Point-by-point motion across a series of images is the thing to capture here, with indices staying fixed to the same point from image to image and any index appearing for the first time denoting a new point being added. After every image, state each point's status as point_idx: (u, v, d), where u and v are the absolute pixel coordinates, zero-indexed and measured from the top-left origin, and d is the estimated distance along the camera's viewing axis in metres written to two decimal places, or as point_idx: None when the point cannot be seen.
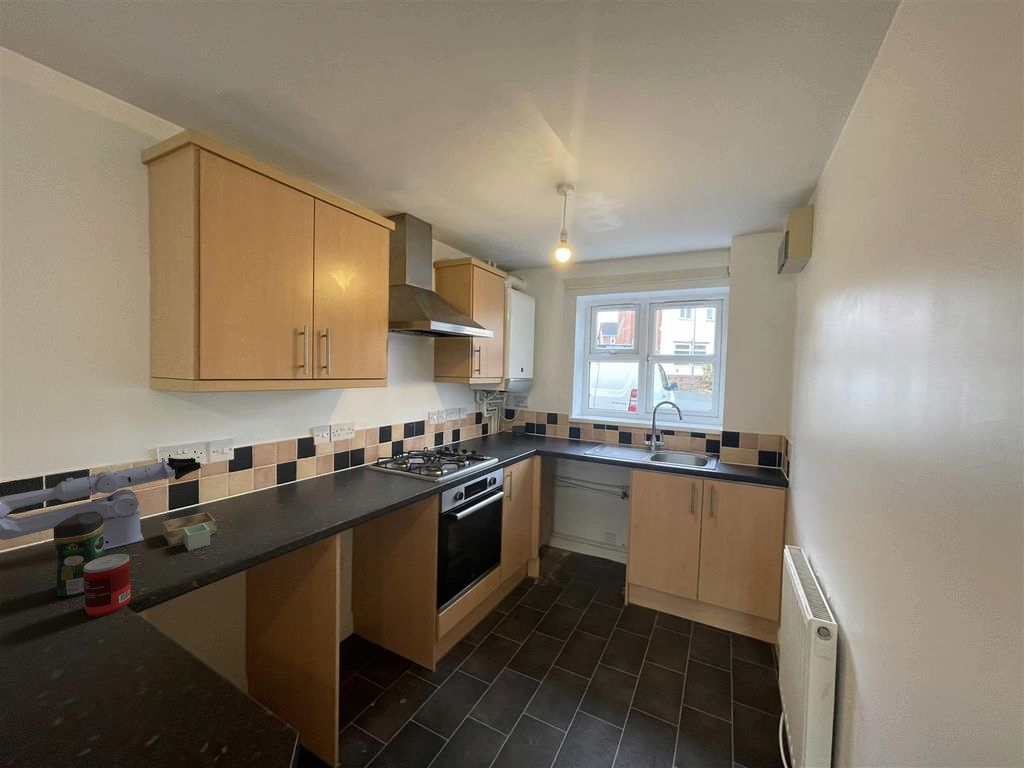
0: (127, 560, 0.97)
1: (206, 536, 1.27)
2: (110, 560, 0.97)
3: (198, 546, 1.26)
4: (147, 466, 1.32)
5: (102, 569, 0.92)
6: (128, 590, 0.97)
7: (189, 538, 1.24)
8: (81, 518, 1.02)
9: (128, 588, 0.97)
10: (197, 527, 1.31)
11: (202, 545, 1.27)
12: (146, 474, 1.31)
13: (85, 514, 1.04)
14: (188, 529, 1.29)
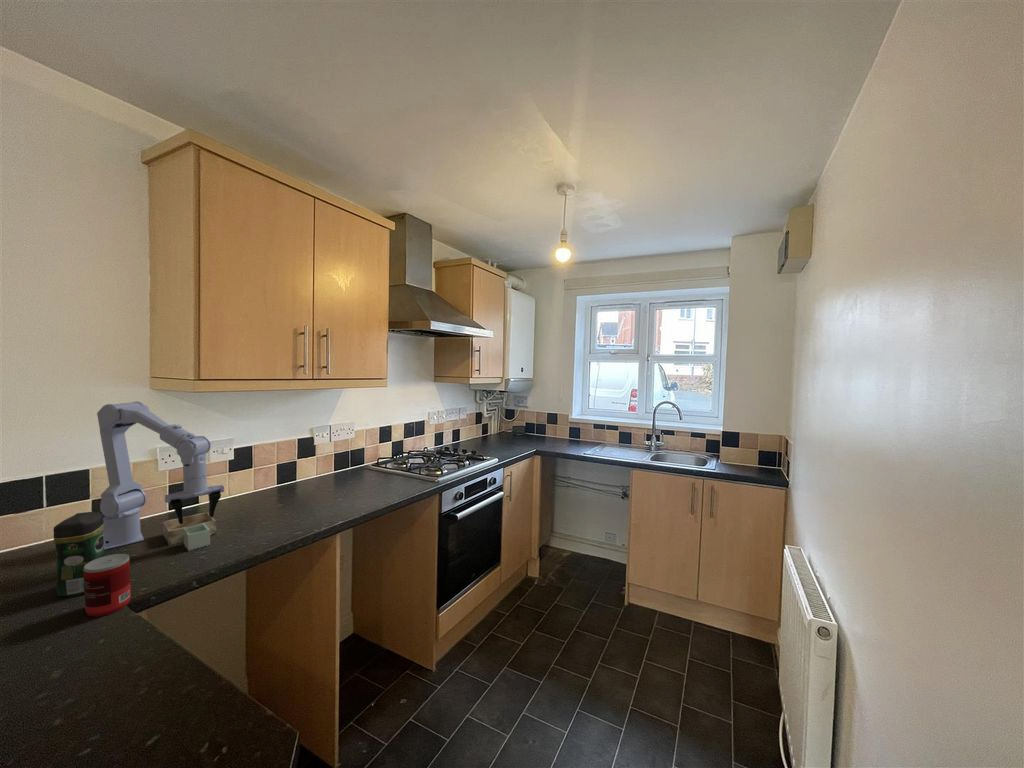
0: (127, 560, 0.97)
1: (206, 536, 1.27)
2: (110, 560, 0.97)
3: (198, 546, 1.26)
4: (192, 480, 1.25)
5: (102, 569, 0.92)
6: (128, 590, 0.97)
7: (189, 538, 1.24)
8: (81, 518, 1.02)
9: (128, 588, 0.97)
10: (197, 527, 1.31)
11: (202, 545, 1.27)
12: (183, 478, 1.25)
13: (85, 514, 1.04)
14: (188, 529, 1.29)
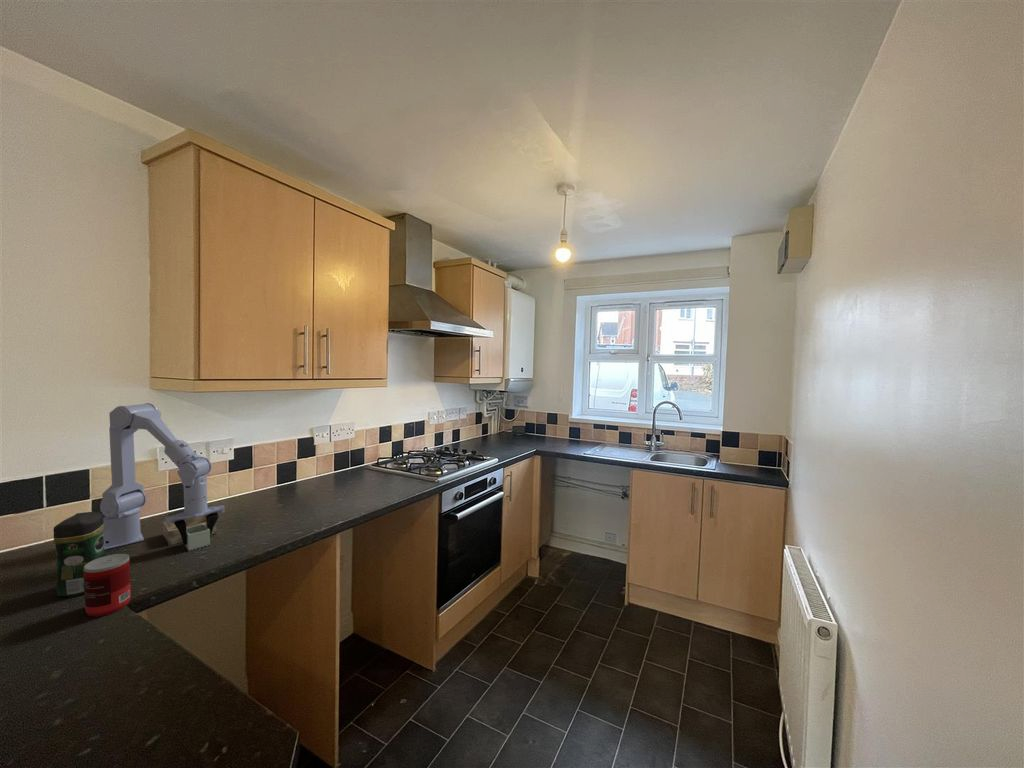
0: (127, 560, 0.97)
1: (206, 536, 1.27)
2: (110, 560, 0.97)
3: (198, 546, 1.26)
4: (193, 502, 1.25)
5: (102, 569, 0.92)
6: (128, 590, 0.97)
7: (189, 538, 1.24)
8: (81, 518, 1.02)
9: (128, 588, 0.97)
10: (197, 527, 1.31)
11: (202, 545, 1.27)
12: (184, 499, 1.25)
13: (85, 514, 1.04)
14: (188, 529, 1.29)
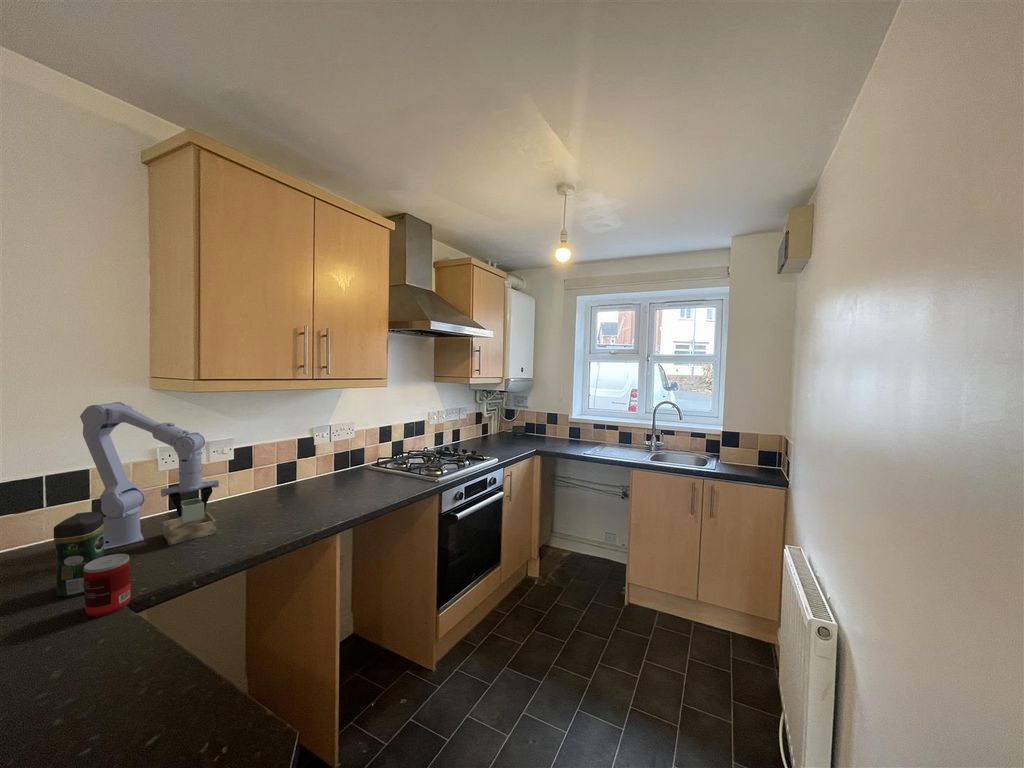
0: (127, 560, 0.97)
1: (200, 509, 1.31)
2: (110, 560, 0.97)
3: (192, 518, 1.30)
4: (187, 475, 1.29)
5: (102, 569, 0.92)
6: (128, 590, 0.97)
7: (184, 510, 1.28)
8: (81, 518, 1.02)
9: (128, 588, 0.97)
10: (192, 501, 1.35)
11: (196, 518, 1.31)
12: (179, 473, 1.29)
13: (85, 514, 1.04)
14: (183, 502, 1.33)
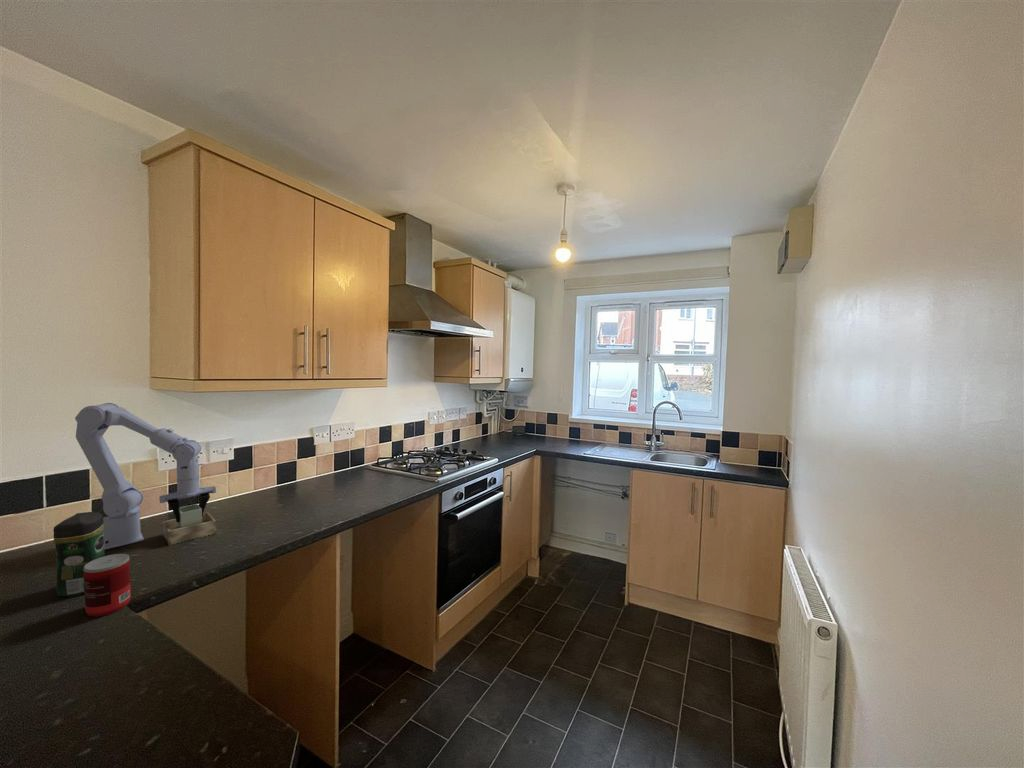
0: (127, 560, 0.97)
1: (198, 515, 1.34)
2: (110, 560, 0.97)
3: (190, 524, 1.33)
4: (185, 482, 1.32)
5: (102, 569, 0.92)
6: (128, 590, 0.97)
7: (182, 516, 1.31)
8: (81, 518, 1.02)
9: (128, 588, 0.97)
10: (190, 507, 1.38)
11: (194, 523, 1.34)
12: (177, 479, 1.32)
13: (85, 514, 1.04)
14: (181, 508, 1.36)
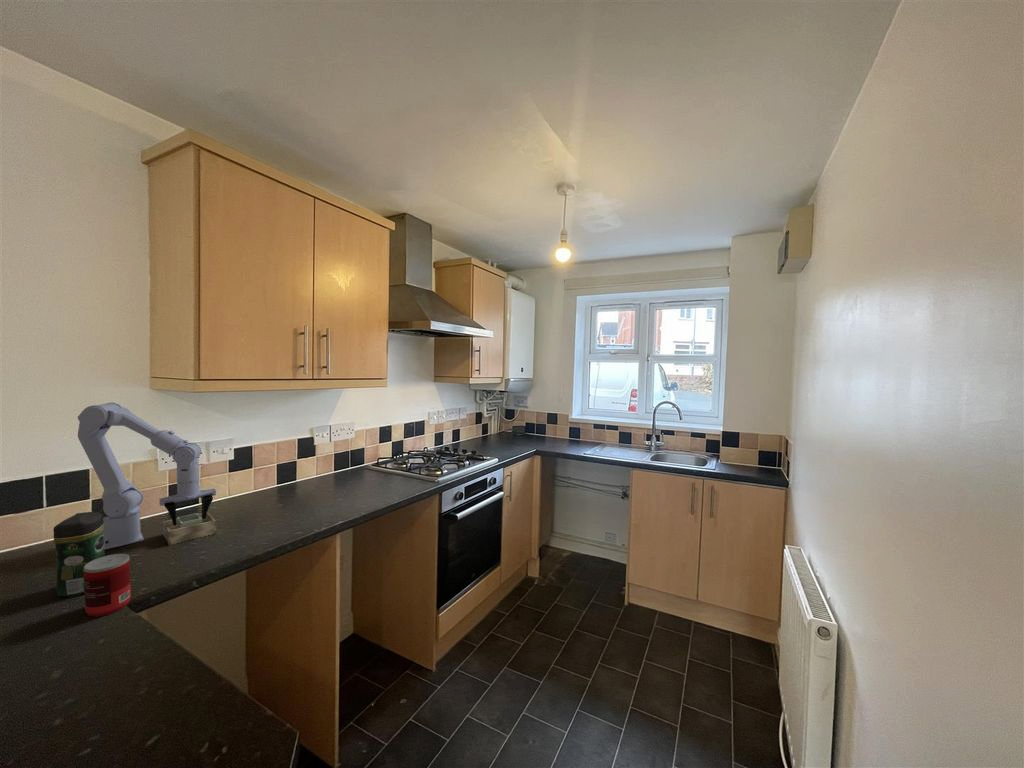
0: (127, 560, 0.97)
1: None
2: (110, 560, 0.97)
3: None
4: (185, 484, 1.32)
5: (102, 569, 0.92)
6: (128, 590, 0.97)
7: (182, 526, 1.31)
8: (81, 518, 1.02)
9: (128, 588, 0.97)
10: (190, 516, 1.38)
11: None
12: (177, 482, 1.32)
13: (85, 514, 1.04)
14: (181, 518, 1.36)
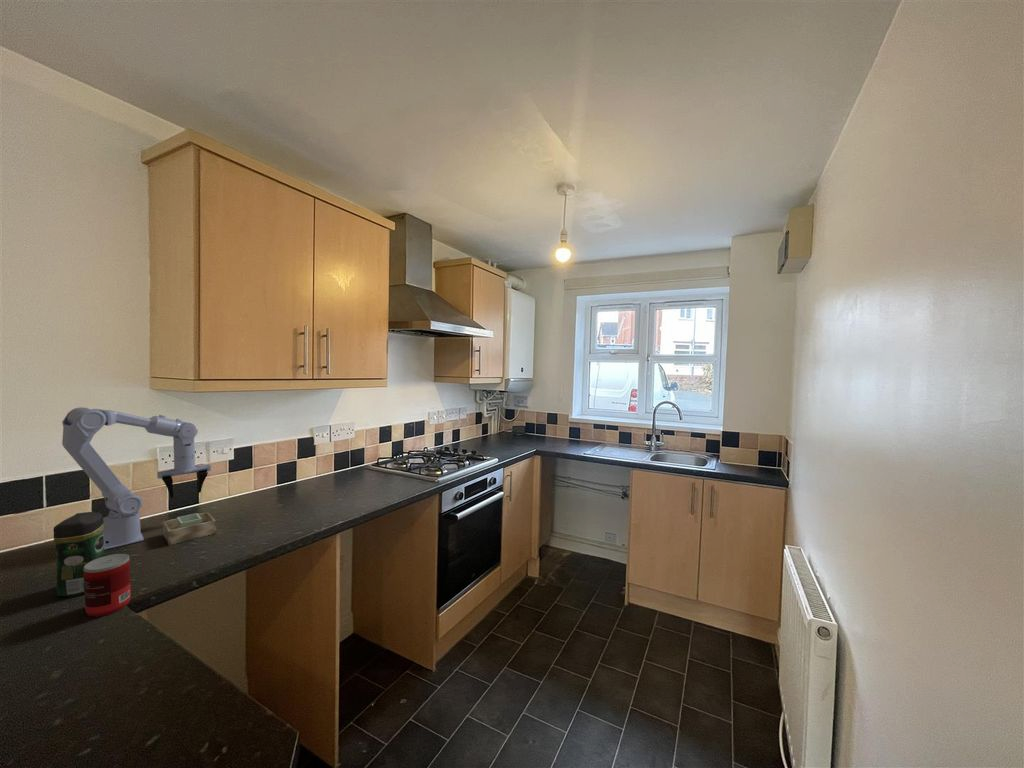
0: (127, 560, 0.97)
1: None
2: (110, 560, 0.97)
3: None
4: (182, 459, 1.41)
5: (102, 569, 0.92)
6: (128, 590, 0.97)
7: (182, 526, 1.31)
8: (81, 518, 1.02)
9: (128, 588, 0.97)
10: (190, 516, 1.38)
11: None
12: (174, 457, 1.41)
13: (85, 514, 1.04)
14: (181, 518, 1.36)
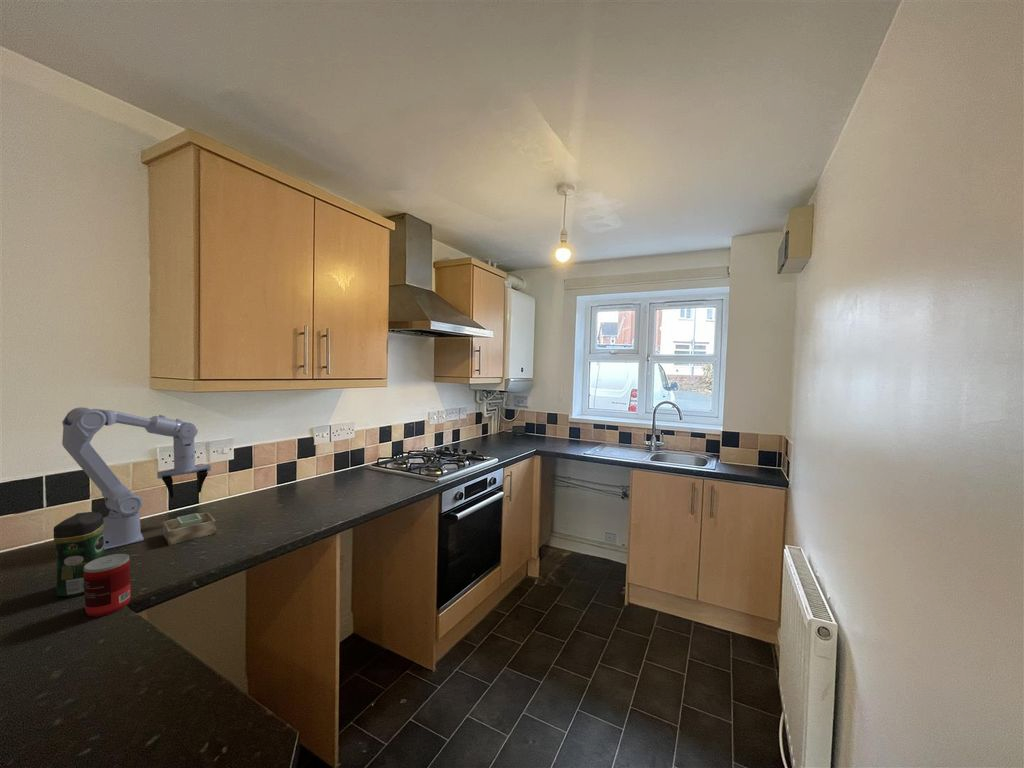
0: (127, 560, 0.97)
1: None
2: (110, 560, 0.97)
3: None
4: (182, 459, 1.41)
5: (102, 569, 0.92)
6: (128, 590, 0.97)
7: (182, 526, 1.31)
8: (81, 518, 1.02)
9: (128, 588, 0.97)
10: (190, 516, 1.38)
11: None
12: (174, 457, 1.41)
13: (85, 514, 1.04)
14: (181, 518, 1.36)
